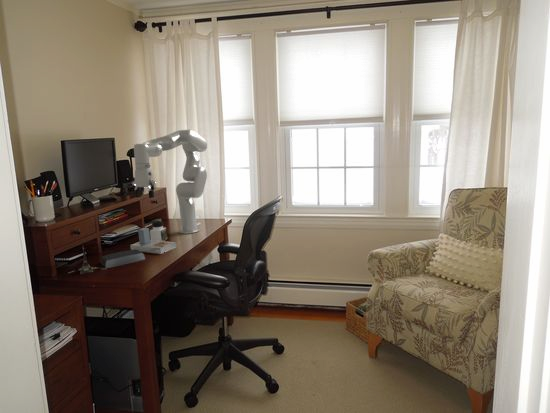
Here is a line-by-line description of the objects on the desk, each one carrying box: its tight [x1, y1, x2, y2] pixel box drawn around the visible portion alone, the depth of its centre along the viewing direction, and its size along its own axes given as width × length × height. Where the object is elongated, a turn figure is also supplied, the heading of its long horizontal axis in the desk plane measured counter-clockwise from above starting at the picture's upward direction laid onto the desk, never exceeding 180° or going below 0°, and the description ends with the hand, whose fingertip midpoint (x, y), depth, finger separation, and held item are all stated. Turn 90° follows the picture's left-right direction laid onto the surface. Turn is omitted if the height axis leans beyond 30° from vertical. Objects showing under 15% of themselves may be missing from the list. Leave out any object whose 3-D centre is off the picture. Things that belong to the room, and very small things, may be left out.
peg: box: [137, 227, 151, 245], centre depth 223 cm, size 4×4×11 cm
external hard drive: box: [100, 249, 146, 269], centre depth 202 cm, size 13×19×4 cm
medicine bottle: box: [149, 219, 168, 241], centre depth 238 cm, size 7×7×12 cm
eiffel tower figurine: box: [68, 246, 108, 275], centre depth 189 cm, size 15×10×13 cm
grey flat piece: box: [130, 239, 177, 255], centre depth 221 cm, size 12×22×3 cm, turn 63°
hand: (145, 197), depth 222 cm, fingers open, 9 cm apart
